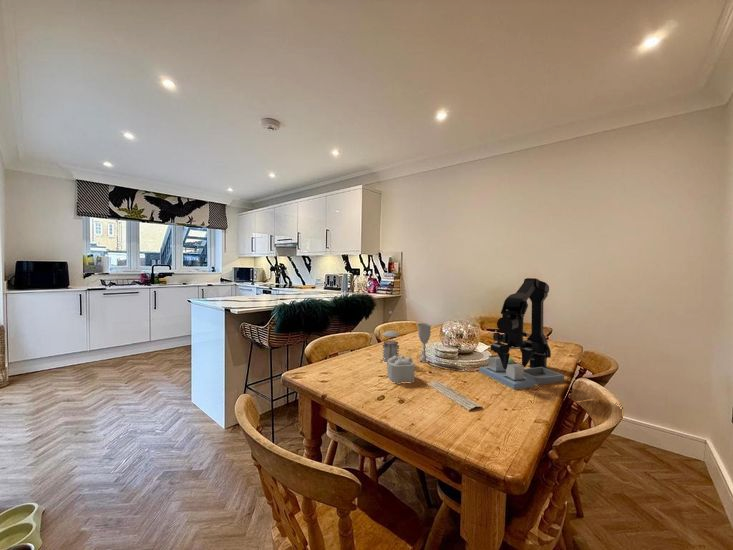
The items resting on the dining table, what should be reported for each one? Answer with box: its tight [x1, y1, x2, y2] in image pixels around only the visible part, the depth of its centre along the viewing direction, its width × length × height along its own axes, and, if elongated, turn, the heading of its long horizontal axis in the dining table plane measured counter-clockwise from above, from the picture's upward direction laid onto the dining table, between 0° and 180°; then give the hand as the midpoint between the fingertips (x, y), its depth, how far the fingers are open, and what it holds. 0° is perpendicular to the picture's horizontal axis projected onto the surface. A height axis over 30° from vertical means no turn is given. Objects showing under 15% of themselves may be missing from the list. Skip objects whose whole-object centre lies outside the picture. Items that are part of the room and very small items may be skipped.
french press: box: [382, 310, 400, 362], centre depth 146 cm, size 10×12×25 cm
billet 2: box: [506, 361, 525, 382], centre depth 120 cm, size 4×4×8 cm
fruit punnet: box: [386, 354, 415, 383], centre depth 127 cm, size 10×13×9 cm
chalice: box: [417, 322, 432, 361], centre depth 149 cm, size 7×7×18 cm
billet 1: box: [488, 354, 504, 373], centre depth 130 cm, size 4×4×8 cm
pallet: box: [478, 365, 536, 390], centre depth 125 cm, size 10×20×2 cm, turn 17°
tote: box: [524, 367, 565, 386], centre depth 125 cm, size 14×11×3 cm
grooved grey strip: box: [427, 380, 484, 412], centre depth 110 cm, size 24×7×2 cm, turn 22°
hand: (514, 368), depth 120 cm, fingers open, 9 cm apart
